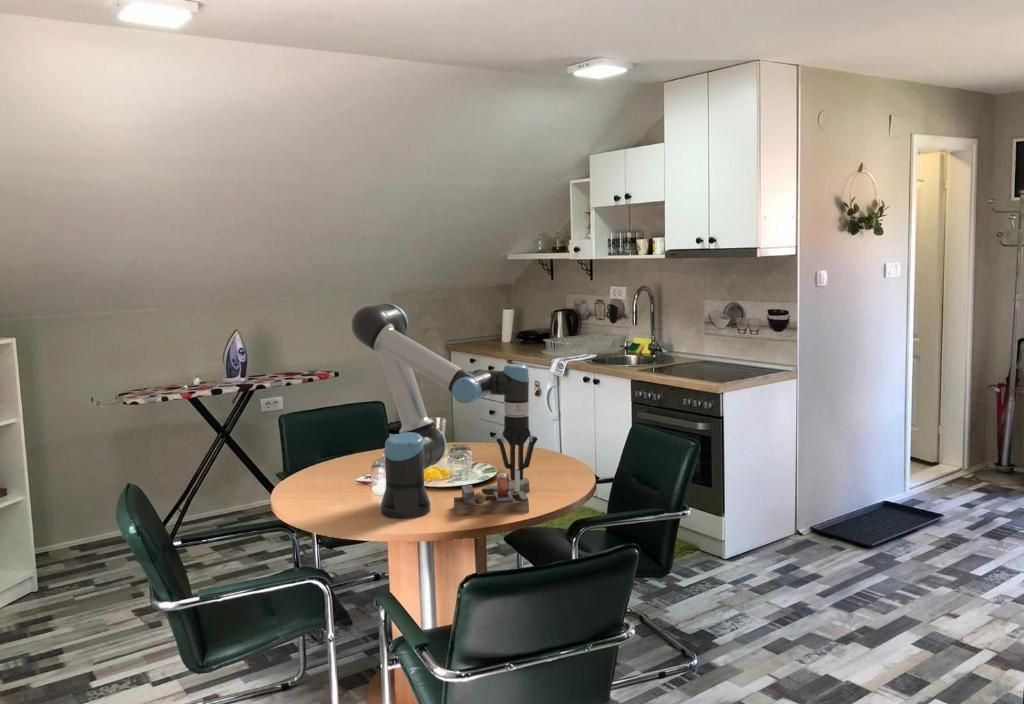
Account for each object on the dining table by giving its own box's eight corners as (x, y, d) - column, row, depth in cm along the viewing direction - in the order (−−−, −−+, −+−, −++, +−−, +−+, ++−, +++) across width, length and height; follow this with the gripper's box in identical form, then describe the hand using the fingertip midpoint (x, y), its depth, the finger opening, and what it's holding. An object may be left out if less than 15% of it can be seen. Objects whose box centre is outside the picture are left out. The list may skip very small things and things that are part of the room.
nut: (474, 505, 256) (474, 494, 256) (473, 502, 260) (472, 491, 259) (486, 505, 257) (486, 493, 256) (484, 501, 260) (484, 490, 260)
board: (457, 516, 253) (456, 493, 252) (453, 507, 262) (453, 485, 261) (528, 512, 256) (528, 489, 255) (523, 502, 266) (523, 481, 265)
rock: (535, 498, 271) (535, 484, 271) (486, 502, 269) (485, 488, 268) (528, 488, 283) (527, 475, 283) (481, 492, 280) (480, 478, 280)
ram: (496, 505, 256) (496, 478, 255) (493, 498, 262) (493, 472, 261) (513, 504, 257) (512, 477, 256) (509, 497, 263) (509, 471, 262)
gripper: (497, 418, 252) (497, 494, 255) (539, 416, 255) (539, 492, 257) (493, 413, 260) (494, 487, 263) (534, 411, 262) (534, 485, 265)
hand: (516, 489), depth 260 cm, fingers closed
